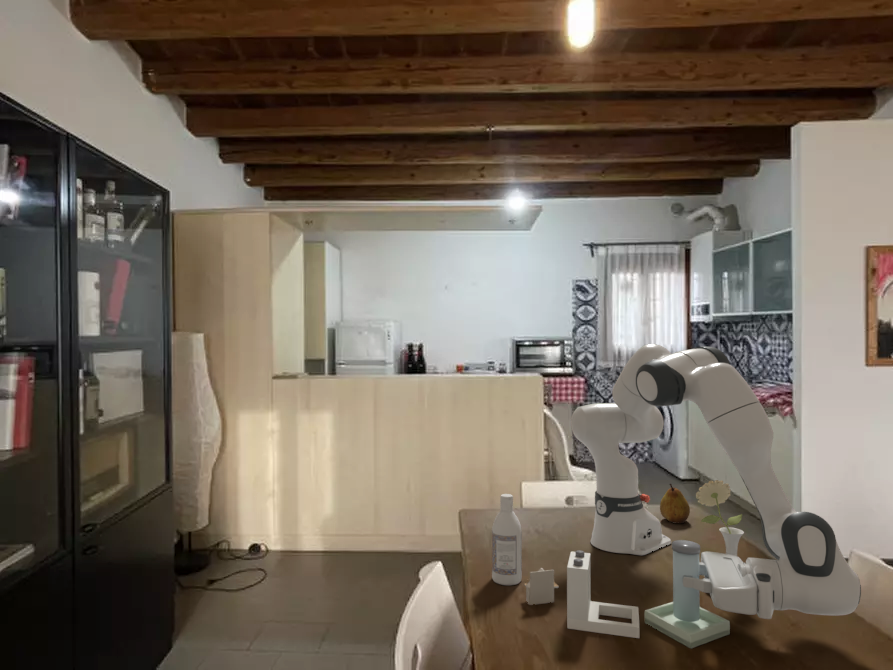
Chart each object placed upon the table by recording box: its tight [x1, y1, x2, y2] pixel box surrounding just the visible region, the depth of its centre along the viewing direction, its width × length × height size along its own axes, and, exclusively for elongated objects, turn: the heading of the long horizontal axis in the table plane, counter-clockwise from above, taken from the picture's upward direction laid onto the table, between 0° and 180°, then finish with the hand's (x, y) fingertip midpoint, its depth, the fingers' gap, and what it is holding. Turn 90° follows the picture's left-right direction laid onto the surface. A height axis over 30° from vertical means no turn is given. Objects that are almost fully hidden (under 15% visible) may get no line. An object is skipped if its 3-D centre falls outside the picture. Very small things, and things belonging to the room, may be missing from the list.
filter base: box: [566, 549, 640, 639], centre depth 118 cm, size 14×9×13 cm, turn 73°
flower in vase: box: [695, 479, 745, 557], centre depth 132 cm, size 13×11×25 cm
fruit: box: [659, 483, 691, 524], centre depth 183 cm, size 9×9×12 cm
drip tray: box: [644, 601, 731, 649], centre depth 116 cm, size 11×11×2 cm
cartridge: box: [671, 539, 701, 622], centre depth 116 cm, size 5×5×14 cm
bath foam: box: [491, 493, 523, 586], centre depth 139 cm, size 7×7×20 cm
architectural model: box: [523, 567, 559, 606], centre depth 128 cm, size 3×7×7 cm, turn 104°
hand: (681, 574), depth 116 cm, fingers closed on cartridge, 5 cm apart
